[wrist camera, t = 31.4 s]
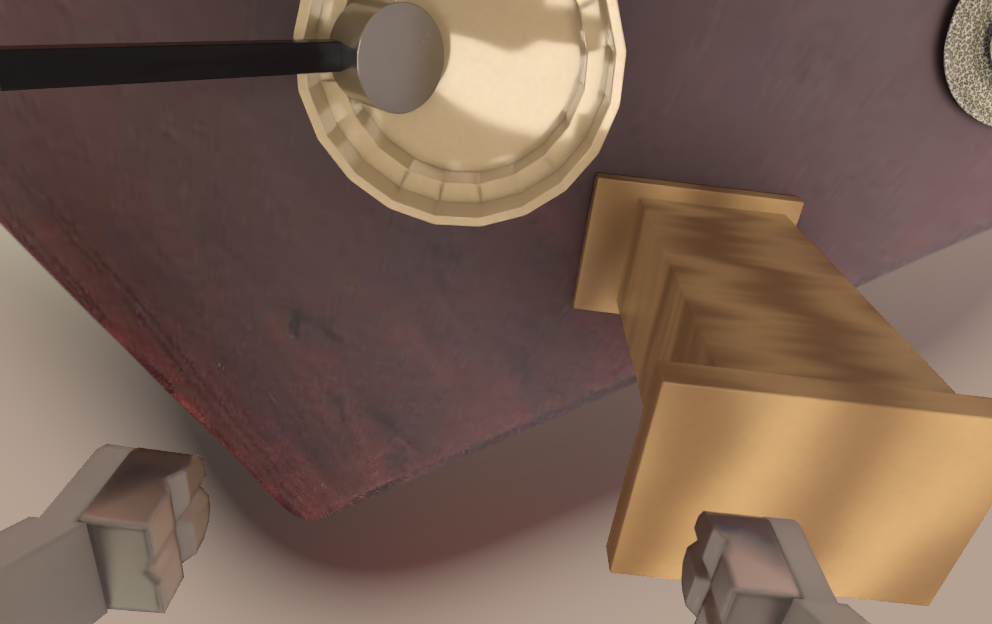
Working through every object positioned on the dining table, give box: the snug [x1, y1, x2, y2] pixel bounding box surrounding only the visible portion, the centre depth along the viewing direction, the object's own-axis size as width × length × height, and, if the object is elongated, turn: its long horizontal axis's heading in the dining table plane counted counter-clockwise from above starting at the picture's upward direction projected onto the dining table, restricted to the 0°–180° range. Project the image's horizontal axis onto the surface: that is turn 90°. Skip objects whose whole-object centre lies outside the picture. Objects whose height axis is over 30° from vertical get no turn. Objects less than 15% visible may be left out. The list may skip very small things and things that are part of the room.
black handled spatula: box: [0, 0, 444, 114], centre depth 34 cm, size 22×6×3 cm
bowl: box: [293, 0, 627, 226], centre depth 40 cm, size 18×18×6 cm
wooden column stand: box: [572, 173, 992, 606], centre depth 38 cm, size 14×10×25 cm
